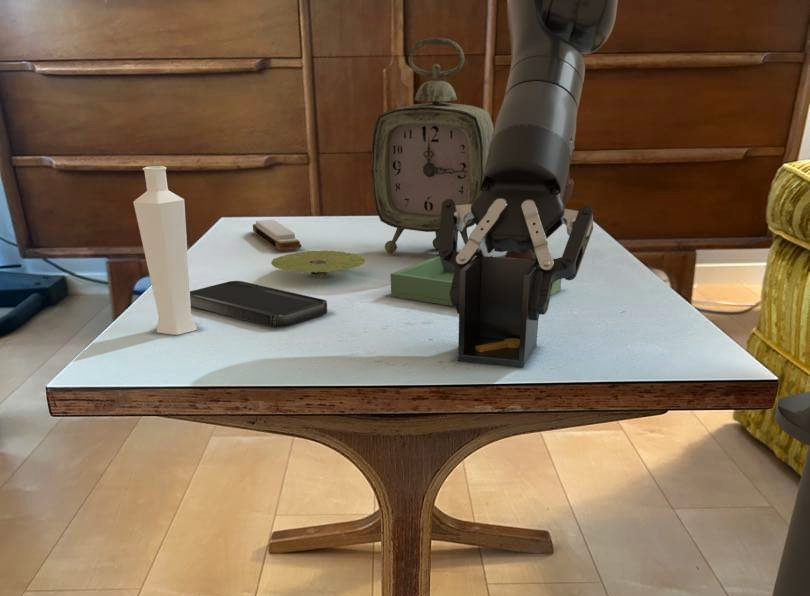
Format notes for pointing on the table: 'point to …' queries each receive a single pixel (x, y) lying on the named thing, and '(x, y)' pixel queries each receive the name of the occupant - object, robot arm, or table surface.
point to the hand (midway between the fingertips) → (496, 312)
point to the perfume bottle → (165, 251)
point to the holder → (497, 309)
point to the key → (499, 345)
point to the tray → (429, 282)
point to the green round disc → (318, 262)
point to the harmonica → (276, 235)
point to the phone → (258, 303)
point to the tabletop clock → (428, 154)
